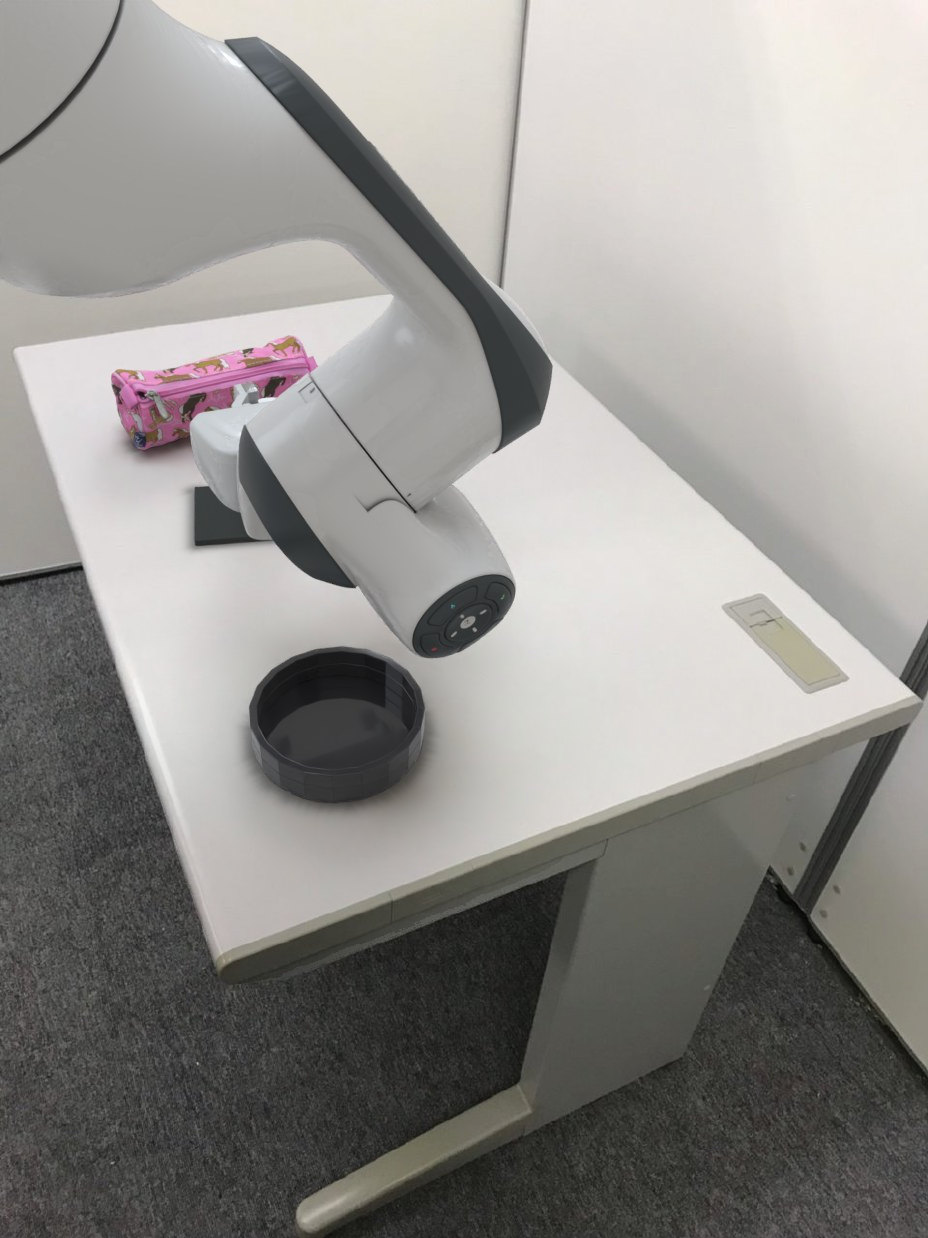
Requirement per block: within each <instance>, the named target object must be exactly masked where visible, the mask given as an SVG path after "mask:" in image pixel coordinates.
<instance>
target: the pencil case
mask: <svg viewBox="0 0 928 1238" xmlns="http://www.w3.org/2000/svg"><path fill="white" fill-rule="evenodd" d="M318 366H319V365H318V363H317V362H316V359H315V357H314V355H311V356H308V355H307V352H306V349H305V347H304V345H303V343H302V341H301V340H300V338H299V337H298V336H295V335H286V336H283V337H279V338H276V339H274V340H270V341H269V342H267V344H266V345H264V346H262V347H249V348H243V349H239V350H233V351H229V352H225V353H221V354H218V355H214V356H210V357H207V358H203V359H200V360H197V361H194V362H190V363H186V364H183V365H180V366H177V367H171V368H166V369H158V370H136V369H125V368H124V369H123V368H117V369H115V371H113V372H112V373H111V376H110V383H111V389H112V392H113V395H114V397H115V405H116V411H117V413H118V417H119V419H120V423H121V425H122V427H123V429H124V430H125V432H126V433H127V435H128V436H129V437H130V439H131V440H132V445H133V446H134V447H135V448H137V449H138V450H140V451H145V450H148V449H150V448H152V447H160V446H163V445H166V444H169V443H172V442H175V441H177V440H180V439H185V438H188V437H189V436H190V422H191V421H192V420H193V418H194V417H195V416H196V415H197V414H199V413H202V412H208V411H215V410H221V409H227V408H231V405H232V404H233V402H234V400H235V396H234V385H236V384H244V383H251V382H253V383H254V386H255V387H256V388H257V389H258V391H259V399H262V398H270V397H273V398H277V397H278V396H279V395H281V394H282V393H283V392H284V391H286V390H287V389H288V388H289V387H291V386H292V385H293V384H294V383H296V382H297V381H298V380H300V379H301V378H302V377H303V376H305V375H306V374H307V373H308V374H309V375H310V372H312V371H313V370H314V369H316V368H317V367H318ZM310 376H311V375H310ZM311 377H312V376H311Z"/></svg>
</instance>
